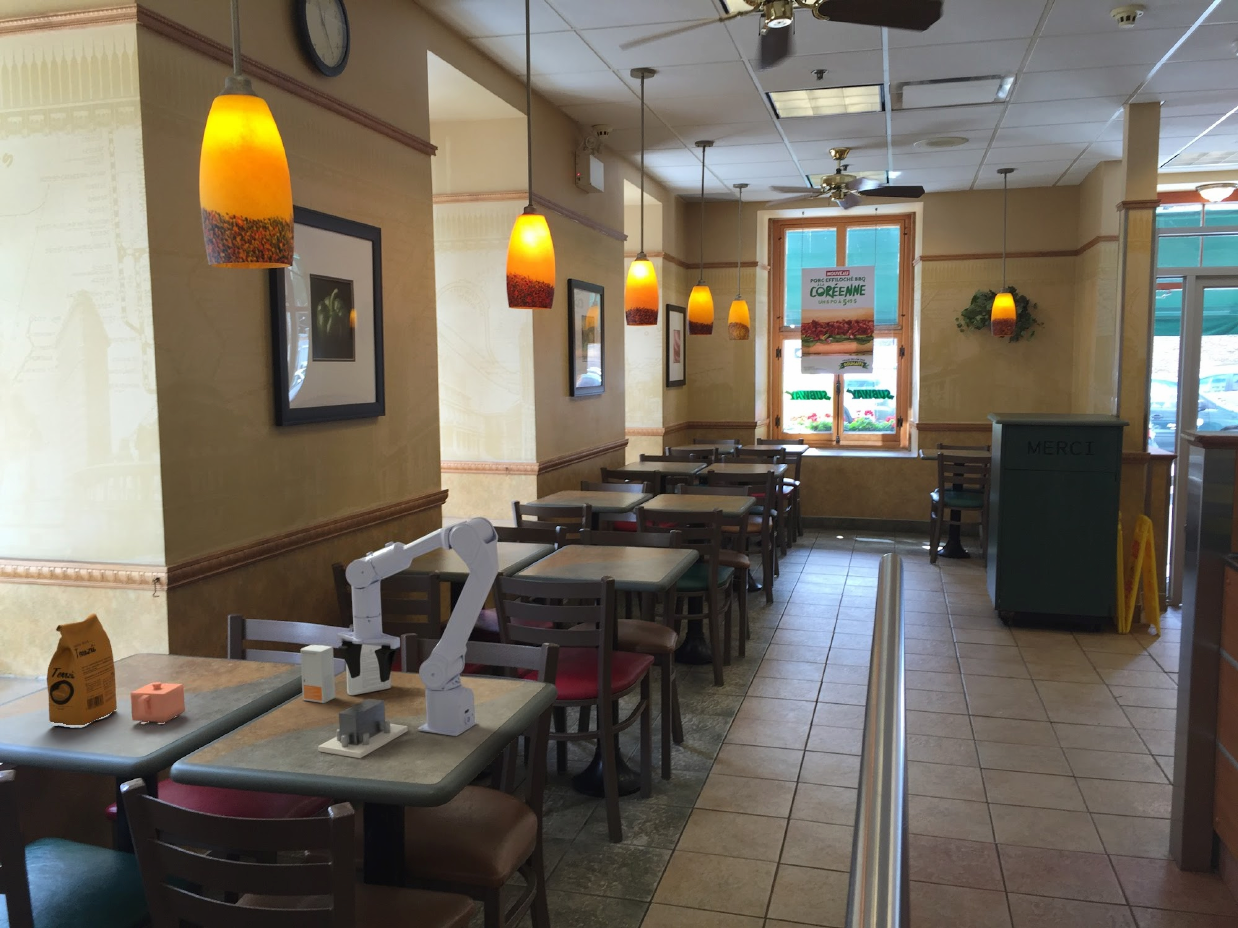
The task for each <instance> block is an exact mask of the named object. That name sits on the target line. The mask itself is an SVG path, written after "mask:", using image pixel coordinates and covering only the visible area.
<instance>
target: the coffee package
mask: <svg viewBox="0 0 1238 928" xmlns="http://www.w3.org/2000/svg"><path fill="white" fill-rule="evenodd" d="M55 631H56V632H59V634H60V635H61V637H60V638H59V639H58V642H57V646H56V650H55V651H54V654H53V655H52V657H51V660H50V662H49V664H48V667H47V673H46V685H47V693H48V694H47V695H48V720H49V722H50V723H51V722H54V723H63V724H66V725H85V724H87V723H90V722H92V721H94V720H96V719H99V718H101V717H104V716H106V715H108V714H110V713H111V712H113V711H114V710H116V709H117V710H118V705H117V694H116V693H117V692H116V691H117V690H116V688H117V687H116V685H117V684H116V670H115V669H116V668H115V664H114V663H115V661H114V660H115V659H114V654H113V648H112V643H111V640H110V639H109V636H108V634H107V632H106V630H105V629H104V627H103V625H102V622H101V621H100V620H99V617H98V616H97V613H92V614H90V615H88V616H87V617H86V619H84V620H83V621H78V622H77V621H76V622H70V623H64V624H58V625H57V626H56V629H55ZM113 713H114V712H113ZM94 722H95V721H94ZM92 723H93V722H92Z"/></svg>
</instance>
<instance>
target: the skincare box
mask: <svg viewBox="0 0 1238 928" xmlns="http://www.w3.org/2000/svg"><path fill="white" fill-rule="evenodd" d="M334 666H335V664H334V647H333V646H328V645H323V644H321V645H320V644H318V645H317V644H310V645H308V646H305V647H302V648H301V649H300V669H301V688H302V690H301V691H302V701H308V702H312V703H313V702H314V703H320V704H325V703H327V702H329V701H331V700H333V699H335V698H336V687H335V686H336V685H335V667H334Z"/></svg>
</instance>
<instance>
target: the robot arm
mask: <svg viewBox="0 0 1238 928" xmlns="http://www.w3.org/2000/svg"><path fill="white" fill-rule="evenodd" d="M498 539H499V535H498V533H497V531H496V529H495V527H494V525H493V524H492V522H491V521H490V520H489V519H487V518H485V517H482V516H477V517H474V518H471V519H470V520H464V521H460V522H457V523H453V524H450V525H446V526H444V527H441V528H438V529H437V530H434V531H432V532H430V533H429V534H428V533H427V534H426V535H425V536H422V537H420V538H418V539H416V540H414V541H411V542H410V543H408V544H405V543H402V542H400V541H396V542H395V543H394V541H390V542H388V543H385V544H384V546H385V547H383V548H381V549H379V550H376V551H374V552H373V551H369V552H368V553H366V554H365V555H366V556H365V557H364V556H363V557H361V558H359V559H354V560H353V561H352V562H350V563H349V564H348V565H347V567H346V570H345V578H346V580H347V582H348V584H349V585H350V586H351V601H352V605H351V606H352V621H353V623H352V624H353V631H342V632H338V633H337V634H336V635H337V644H341V645H339V646H338V647H337V648H338V651H339V653H340V654H341V656H342V658H343V659H344V662H345V665H346V664H347V666H348V669H349V672H350V675H351V678H356V677H358V676H360V656H361V649H362V644H364V645H373V646H381V648H380V649H377V650H375V654H376V657H377V660H378V664H379V672H380V680H381V682H385V681H387V680H389V679H390V673H392V668H393V665H394V661H395V660H396V657H397V654H398V652H399V651H400V648H401V640H400V639H401V638H400V636H399V637H398V636H393V635H389V634H386V633H383V625H382V624H383V621H382V620H383V619H382V618H383V617H382V599H381V597H382V596H381V581H382V580H385V578H389V577H391V576H393V575H395V574H397V573H400V572H401V571H404V570H406V569H409V567H410V566H411V565H412V561H413V559H415V558H417V557H420V556H422V555H424V554H427V553H429V552H433V551H435V550H436V549H439V548H442V549H445V550H447V551H450V550H453V551H454V553H456V555H458V557H459V558H461V560H462V561H463V562H464V563H465V564H466V566H467V569H468V570H469V575H468V577H467V579H466V581H465V584H464V586H463V588H462V590H461V593H460V595H459V597H458V600H457V602H456V604H455V607H454V608H453V611H452V612H451V615H450V618H449V620H448V621H447V625H446V627H445V629H444V632H443V634H442V636H441V638H440V640H439V641H438V643H437V644H436V646H435V647H434V648H433V649H432V651H431V653H430V654H429V657H428V658H427V659H426V660H424V661H423V662H422V663H421V665H420V666H419V670H418V676H419V680H420V681H421V683H422V684H423V686H424V687H425V690H424V691H425V710H426V711H425V713H426V716H425V717H426V723H424V724H422V725H420V726H419V727H418V728H417V731H419V732H420V731H421V732H426V733H433V734H439V735H446V736H452V737H458V736H459V735H461V734H462V733H464V732H466V731H467V730H468V729H470V728H472V727H474V726H475V725H477V723H478V721H477V720H476V714H475V713H476V711H475V695H474V692H473V690H472V689H471V687H466V686H465V685H463V683H462V680H461V677H460V674H461V673H462V672H463V671H464V669H465V663H466V662H465V657H466V653H467V650H468V647H467V642H468V640H469V638H470V636H471V633H472V632H473V629H474V627H475V624H476V622H477V620H478V619H479V618H478V617H479V615H480V613H481V611H482V608H483V606H484V604H485V603H486V600H487V597H488V596H489V593H490V591H491V589H492V586H493V584H494V582H495V579H496V577H497V575H498V573H499V567H500V565H499V555H498V541H499V540H498Z"/></svg>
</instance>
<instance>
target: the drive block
mask: <svg viewBox="0 0 1238 928" xmlns="http://www.w3.org/2000/svg"><path fill="white" fill-rule="evenodd" d="M385 708H386V707H385V700H382V699H374V698H366V699H365V700H362V701H360V702H358V703H356V704H354V705H353V706H350V707H349V708H346V709H344V710H342V711H340V712H338V723H339V724H338V726H339V728H338V729H340V743H342V741H341V736H343V735H348V744H350V745H356V746H357V745H359V744H361V743H362V742H363V734H364V733H369V739H370V738H371V737H373V736H375V735H377V734H379V733H380V732H382V731H384V722H386V713H385V711H386V709H385Z"/></svg>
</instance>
